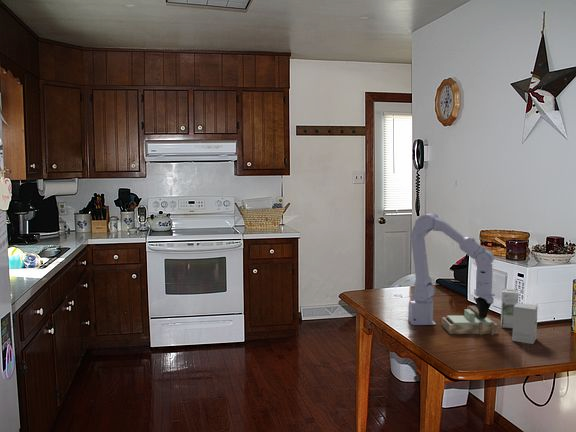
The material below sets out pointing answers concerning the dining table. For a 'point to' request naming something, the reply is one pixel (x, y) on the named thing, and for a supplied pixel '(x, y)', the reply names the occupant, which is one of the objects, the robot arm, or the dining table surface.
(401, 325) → the dining table surface
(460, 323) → the lid
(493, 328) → the tan wooden frame
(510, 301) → the syrup box
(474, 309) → the light brown wooden bar
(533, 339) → the supplement box
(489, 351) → the dining table surface
